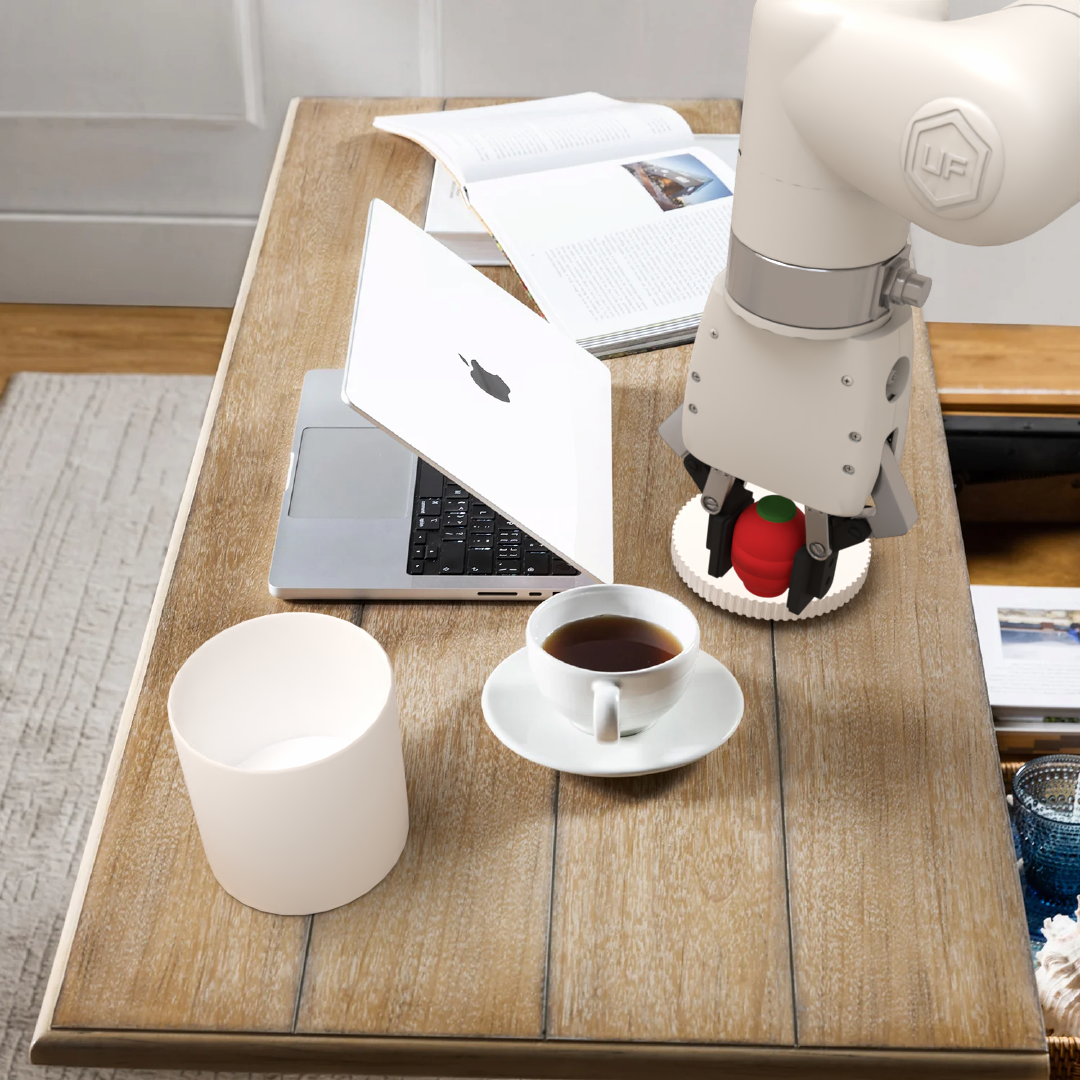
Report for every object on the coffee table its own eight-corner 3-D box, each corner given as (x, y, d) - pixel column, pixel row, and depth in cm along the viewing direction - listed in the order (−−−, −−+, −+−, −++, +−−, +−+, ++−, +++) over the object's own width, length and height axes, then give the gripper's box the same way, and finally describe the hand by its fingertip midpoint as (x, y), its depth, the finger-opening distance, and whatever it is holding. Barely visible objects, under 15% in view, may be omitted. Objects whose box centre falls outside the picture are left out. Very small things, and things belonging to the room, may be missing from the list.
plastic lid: (676, 498, 99) (678, 472, 97) (861, 514, 97) (866, 488, 95) (662, 620, 88) (665, 593, 86) (870, 641, 86) (876, 613, 85)
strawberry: (816, 578, 68) (830, 501, 65) (780, 619, 66) (793, 541, 62) (751, 549, 70) (761, 473, 67) (713, 588, 67) (722, 511, 64)
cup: (416, 753, 79) (403, 609, 71) (401, 916, 70) (383, 772, 62) (226, 754, 79) (192, 610, 71) (186, 917, 70) (142, 772, 62)
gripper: (1029, 291, 55) (943, 607, 66) (694, 191, 62) (670, 489, 74) (959, 365, 50) (880, 691, 62) (607, 247, 58) (596, 556, 69)
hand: (766, 578), depth 68 cm, fingers closed on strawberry, 4 cm apart
